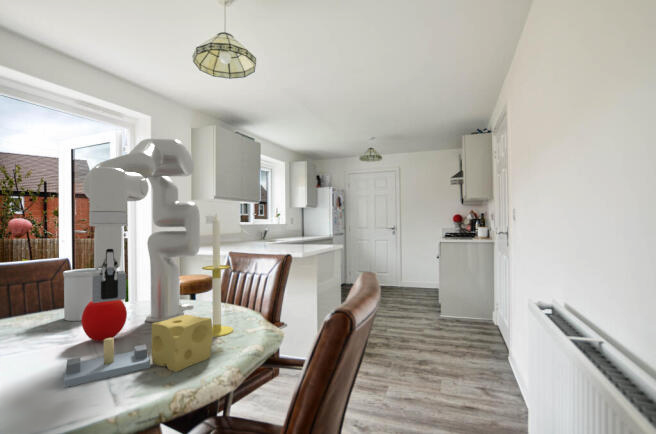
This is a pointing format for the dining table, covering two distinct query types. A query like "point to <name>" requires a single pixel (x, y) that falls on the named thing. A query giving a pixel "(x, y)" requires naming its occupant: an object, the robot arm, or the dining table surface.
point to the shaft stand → (106, 364)
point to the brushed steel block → (97, 287)
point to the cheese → (181, 341)
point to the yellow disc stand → (217, 283)
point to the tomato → (103, 319)
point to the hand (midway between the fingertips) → (108, 295)
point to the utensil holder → (77, 292)
